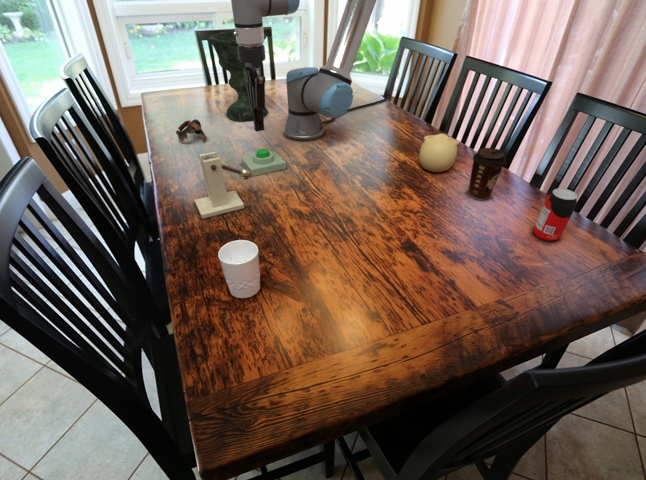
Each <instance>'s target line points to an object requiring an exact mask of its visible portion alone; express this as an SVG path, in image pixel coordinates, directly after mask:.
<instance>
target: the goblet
mask: <svg viewBox="0 0 646 480" xmlns="http://www.w3.org/2000/svg"><path fill="white" fill-rule="evenodd" d="M233 32H235V30H227V31H220V32H215V33H212V34H210V35H209V36H207V42H208V43H209V44H211V45H212V47H213V48H214V50H215V53H216V55H217V58H218V65H219V66H220V67H221V68H222V69H223V70H225V71H227V72H228V73H229V75H230V76H229V79H228V85H229V87H230V88H231V89H233V90H234V92H235V93H236V94H237V99H236V101H234V102H232V103H231V104H230V105H229V106H228V108H227V110H226V117H227V118H228V119H230V120H232V121H234V122H249V121H254V119H253V111H252V107H251V104H250V103H249V98H248V92H247V86H246V81H245V76H244V72H243V68H246V66H245V63H244V62H241V61H240V60H239V58H238V51H237V47H238V45H239V44H238V43H237V41H236V36H235V35H234V33H233ZM266 39H267V34H266V33H264V41H265V40H266ZM262 44H263V45H264V43H262ZM262 62H263V61H261V62H260V66H261V65H262ZM267 114H268V109H267V107H266V106H265V109H263V117H264V116H266V115H267Z"/></svg>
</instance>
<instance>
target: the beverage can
mask: <svg viewBox="0 0 646 480" xmlns="http://www.w3.org/2000/svg"><path fill="white" fill-rule="evenodd" d="M577 198H578V195H577V193H576V192H574V191H573V190H572V189H571V190H570V189H568V188H560V187H559V188H555V189H553V190H552V192H551V193H549V194H548V195H547V197H546V199H545V201H544V204H543V206H542V208H541V210H540V213H539V214H538V217H537V218H536V219H537V220H536V221H535V224H534V227H533V233H534V234H535V236H536V237H537V238H539V239H540V240H542V241H546V242H553V241H557V240H559V239H560V238H561V237H562V235H563V233H564V231H565V229H566V227H567V225H568V223H569V221H570V219H571V217H572V215H573V213H574V210H576V207H577V205H578V200H577Z"/></svg>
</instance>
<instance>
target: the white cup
mask: <svg viewBox="0 0 646 480" xmlns="http://www.w3.org/2000/svg"><path fill="white" fill-rule="evenodd" d="M217 256H218V259H219V264H220V266H221V270H222V274H223V276H224V279H225V282H226V284H227V288H228V291H229V293H230V295H231V296H233V297H235V298H237V299H248V298H251V297H253V296H256V294H258V292H259V291H260V289H261V267H260V256H259V247H258V245H257V244H256V243H254V242H252V241H251V240H246V239H236V240H231V241H229V242H227V243H225V244H224V245H222V246H221V247H220V248H219V251H218V254H217Z"/></svg>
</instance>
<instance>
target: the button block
mask: <svg viewBox="0 0 646 480" xmlns="http://www.w3.org/2000/svg"><path fill="white" fill-rule="evenodd" d="M241 163H242V165H243V168H248V169H249V170H250V172H251V176H250V177H254V176H259V175H264V174H269V173H272V172H277V171H282V170H286V169H287V162H286V161H285V160H284V158H282V156H280V154H279V153H277V151H275V150H273V151H270V150H269V156H268V157H266V158H258V157H257V152H256V151H255V152H253V153H252V155H250V156H243V157H241Z"/></svg>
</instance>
